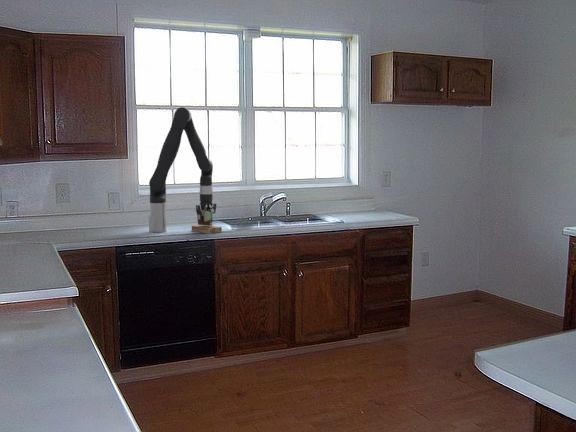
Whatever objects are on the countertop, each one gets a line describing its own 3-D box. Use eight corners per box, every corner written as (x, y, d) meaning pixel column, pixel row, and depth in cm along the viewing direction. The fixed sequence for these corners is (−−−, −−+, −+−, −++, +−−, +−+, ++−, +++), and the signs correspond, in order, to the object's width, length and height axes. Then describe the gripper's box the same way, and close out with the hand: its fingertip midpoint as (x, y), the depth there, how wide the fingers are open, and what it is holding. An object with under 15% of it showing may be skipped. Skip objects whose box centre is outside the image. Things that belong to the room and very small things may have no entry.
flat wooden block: (208, 233, 365) (208, 228, 365) (191, 230, 376) (191, 225, 376) (221, 232, 372) (221, 227, 372) (205, 229, 383) (204, 224, 383)
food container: (218, 224, 373) (218, 208, 372) (212, 226, 368) (211, 209, 367) (202, 223, 380) (202, 206, 379) (195, 224, 375) (195, 207, 373)
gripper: (200, 194, 364) (200, 223, 366) (219, 192, 374) (219, 221, 376) (192, 193, 369) (192, 222, 371) (211, 192, 379) (212, 219, 381)
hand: (206, 221), depth 373 cm, fingers closed on food container, 5 cm apart
